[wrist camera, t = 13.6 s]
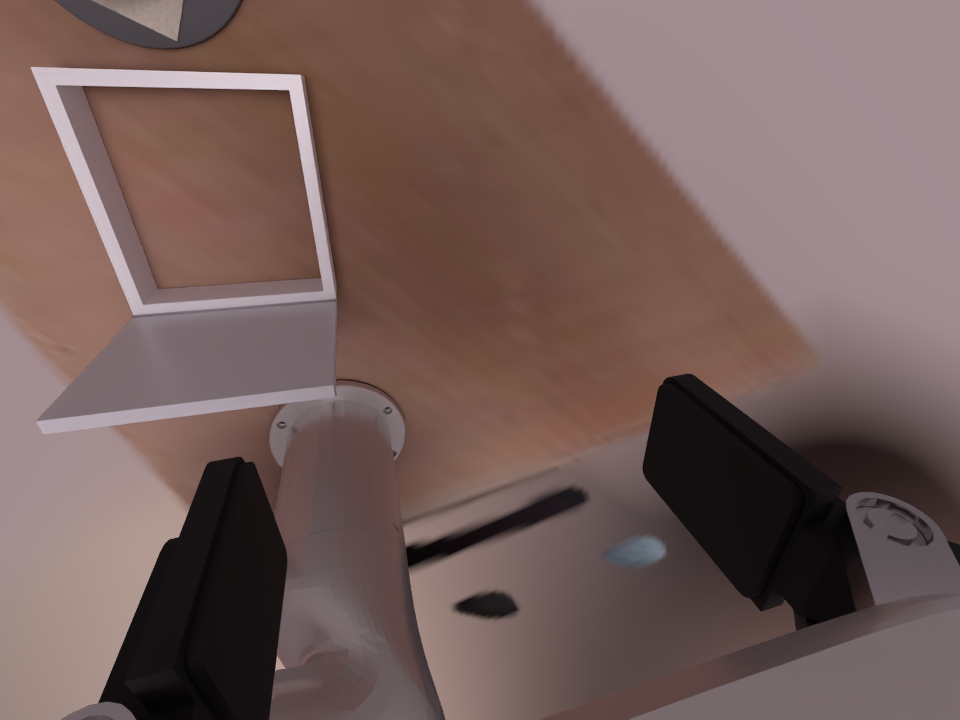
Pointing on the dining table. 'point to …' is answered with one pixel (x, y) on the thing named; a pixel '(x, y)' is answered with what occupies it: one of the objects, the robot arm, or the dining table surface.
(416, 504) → the dining table surface
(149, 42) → the mat
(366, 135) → the dining table surface
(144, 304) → the case
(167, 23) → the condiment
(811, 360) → the dining table surface
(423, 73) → the dining table surface
